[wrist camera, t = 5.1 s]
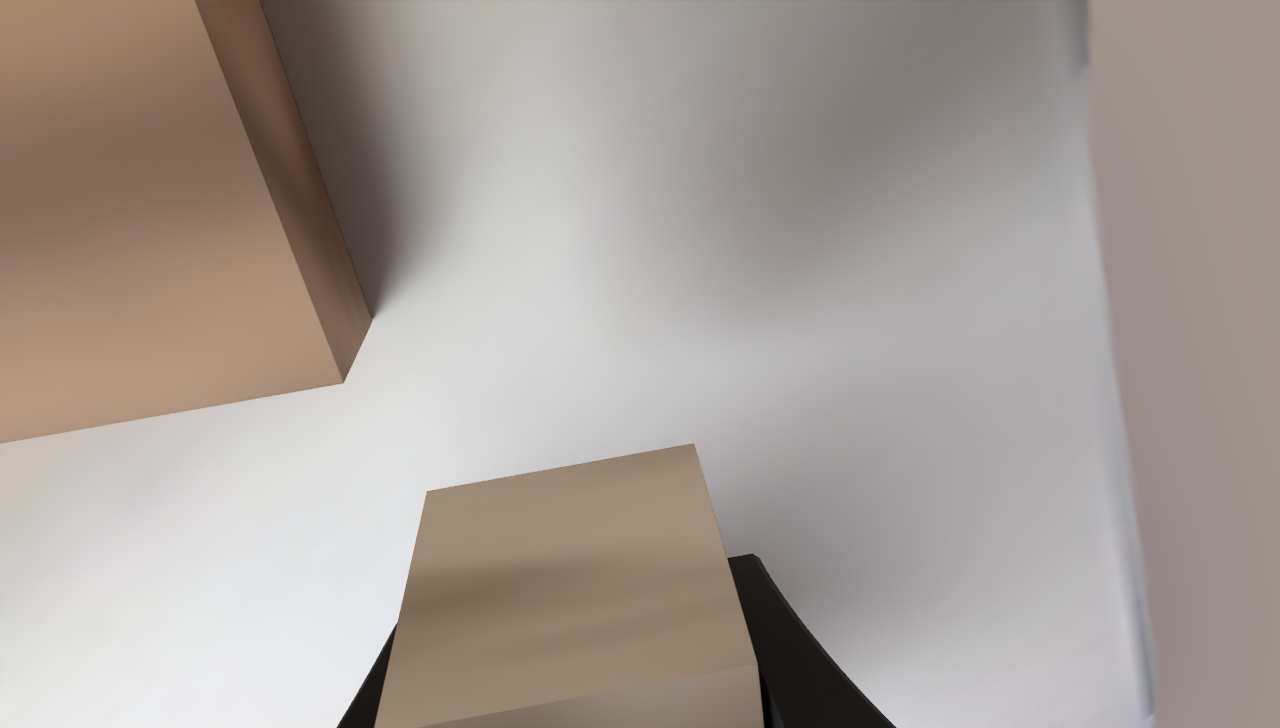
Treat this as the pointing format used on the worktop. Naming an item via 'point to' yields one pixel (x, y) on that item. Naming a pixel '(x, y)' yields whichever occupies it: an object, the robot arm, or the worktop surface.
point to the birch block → (573, 605)
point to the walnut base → (159, 218)
